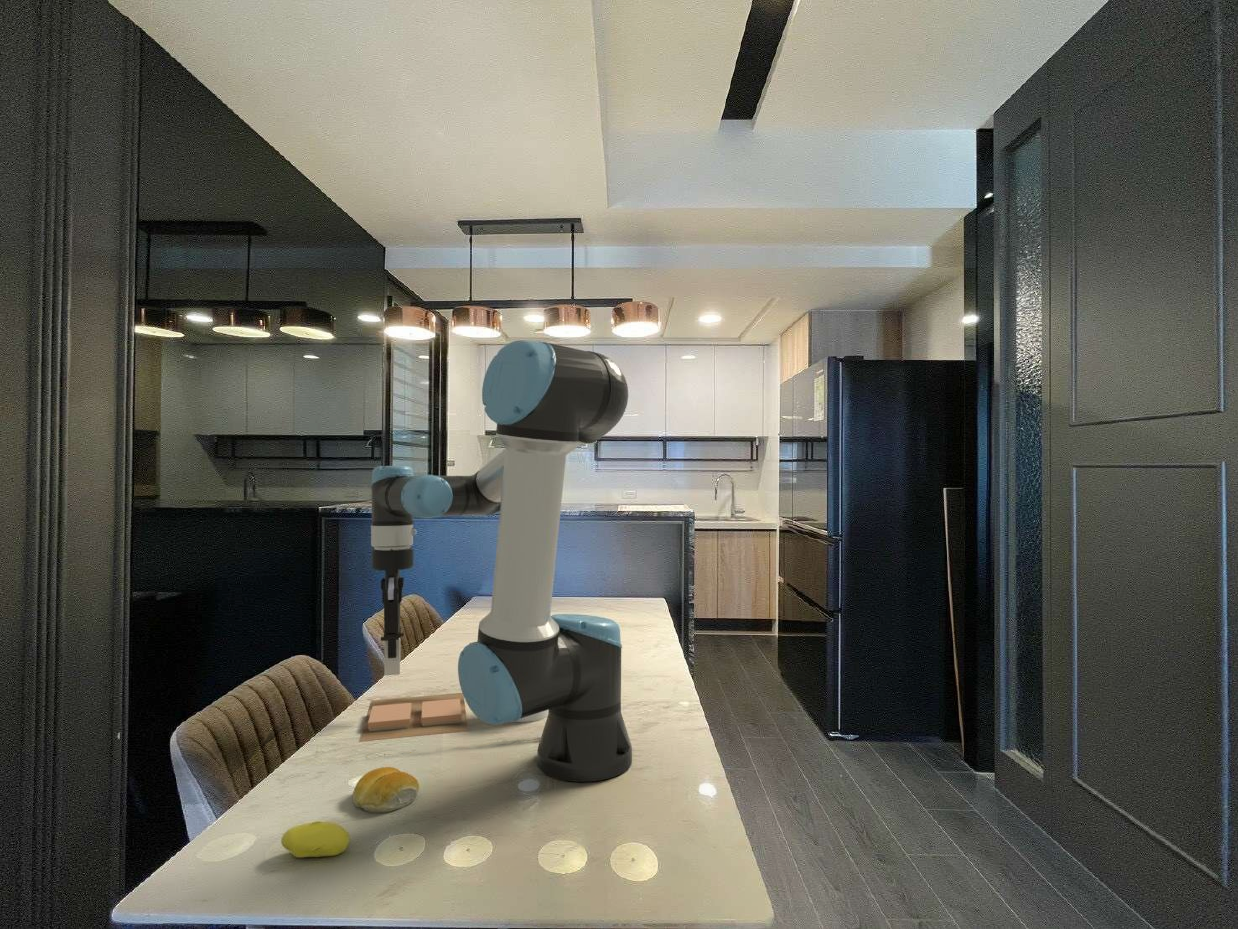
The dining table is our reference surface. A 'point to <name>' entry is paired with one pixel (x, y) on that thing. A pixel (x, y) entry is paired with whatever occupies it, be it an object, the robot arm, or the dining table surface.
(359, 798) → the bread roll
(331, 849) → the lemon
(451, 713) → the tile
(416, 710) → the board
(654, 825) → the dining table surface
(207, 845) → the dining table surface
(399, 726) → the tile
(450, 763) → the dining table surface
